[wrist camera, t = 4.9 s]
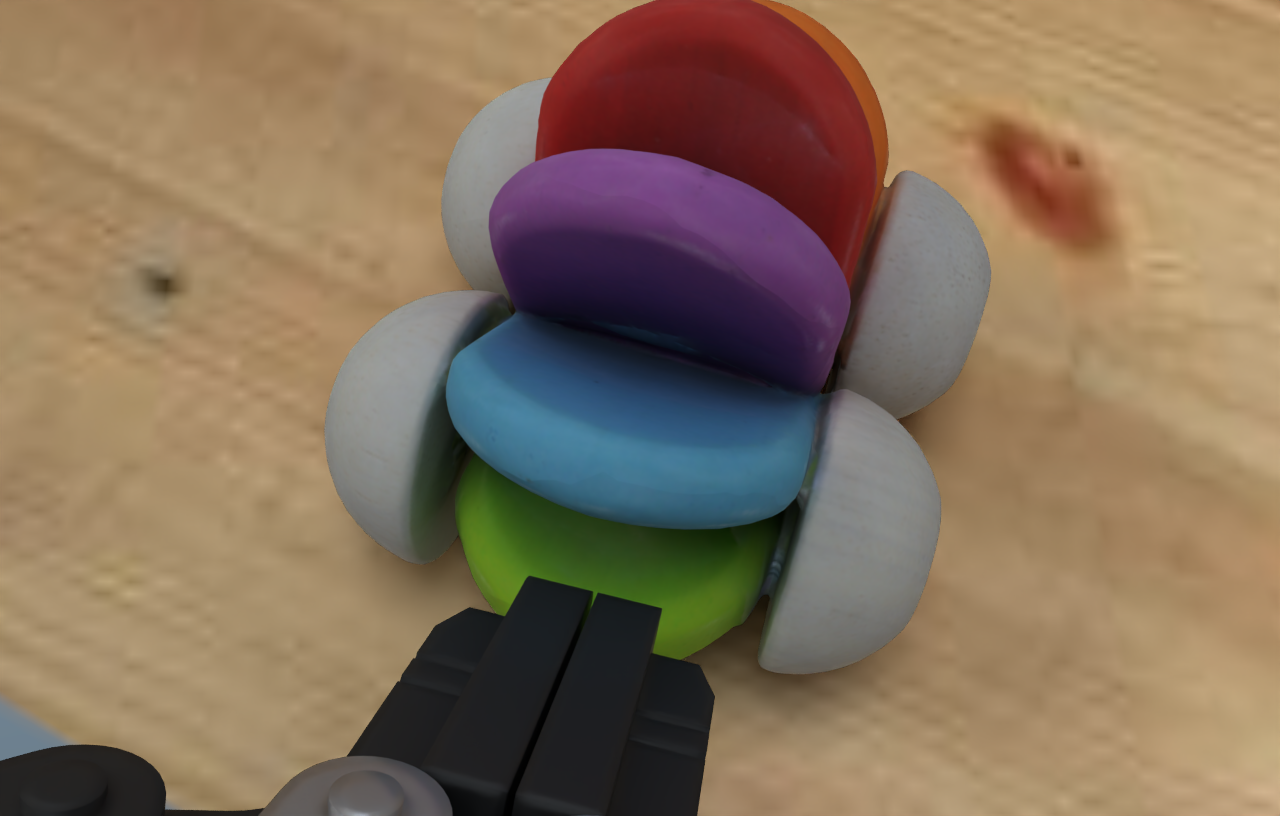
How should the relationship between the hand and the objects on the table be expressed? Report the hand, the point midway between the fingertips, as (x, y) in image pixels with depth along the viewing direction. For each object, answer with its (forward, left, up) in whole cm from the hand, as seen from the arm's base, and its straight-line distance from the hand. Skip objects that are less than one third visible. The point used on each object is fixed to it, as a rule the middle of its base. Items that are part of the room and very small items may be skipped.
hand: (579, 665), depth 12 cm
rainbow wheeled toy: (-1, +5, -5) cm, 7 cm away
